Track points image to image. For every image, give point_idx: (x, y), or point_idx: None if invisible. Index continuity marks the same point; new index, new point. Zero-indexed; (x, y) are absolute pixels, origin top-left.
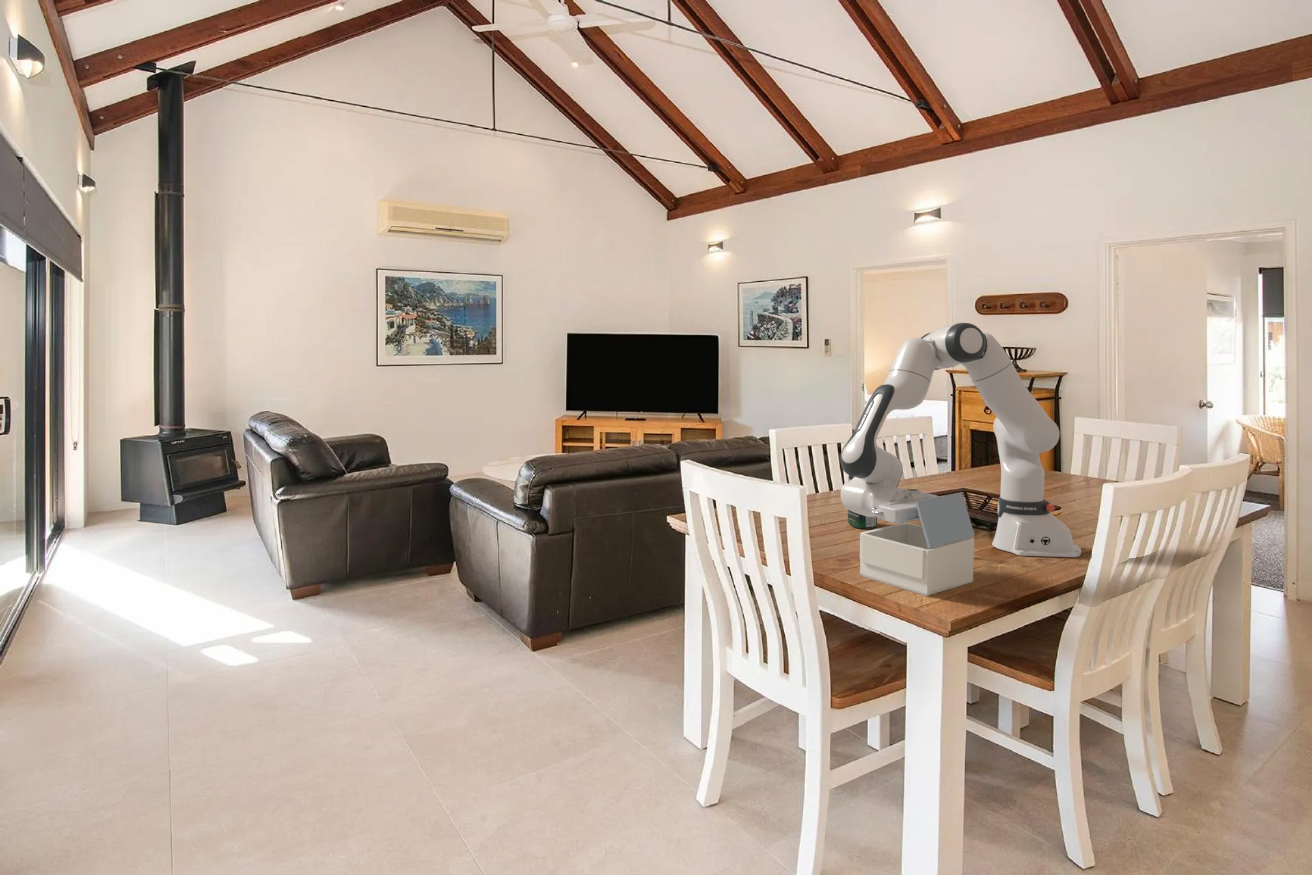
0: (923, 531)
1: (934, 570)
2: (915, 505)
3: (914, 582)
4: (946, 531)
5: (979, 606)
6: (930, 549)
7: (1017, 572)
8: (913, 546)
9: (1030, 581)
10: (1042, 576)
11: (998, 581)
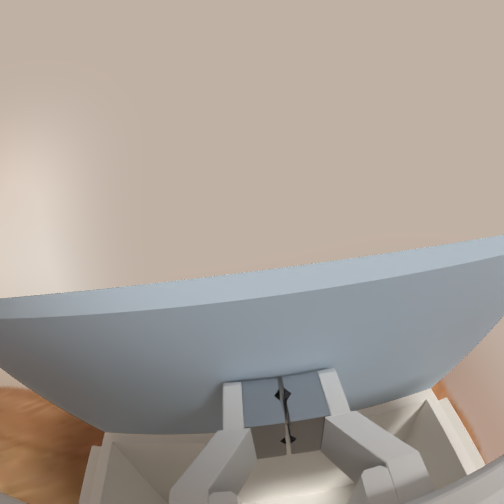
0: (465, 355)
1: None
2: (474, 502)
3: None
4: None
5: None
6: (414, 399)
7: (28, 456)
8: (459, 447)
9: (72, 420)
10: (31, 416)
11: None
